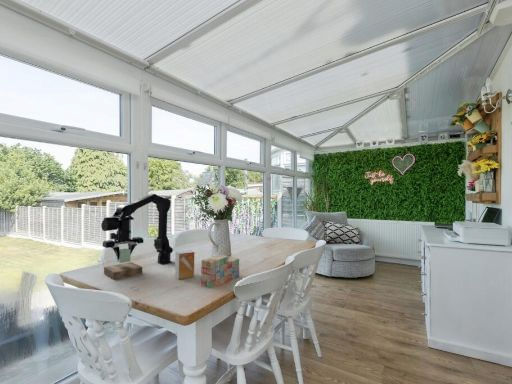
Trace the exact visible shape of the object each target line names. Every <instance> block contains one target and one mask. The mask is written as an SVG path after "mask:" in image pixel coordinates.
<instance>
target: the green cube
mask: <svg viewBox="0 0 512 384" xmlns="http://www.w3.org/2000/svg"><path fill="white" fill-rule="evenodd" d="M130 253H131V250H129V249H128V248H121V249H120V248H119V259H117V258H116V262H118V263H119V264H123V263H129V262H131V255H130ZM131 254H132V253H131Z"/></svg>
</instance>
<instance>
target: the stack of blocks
mask: <svg viewBox="0 0 512 384" xmlns="http://www.w3.org/2000/svg"><path fill="white" fill-rule="evenodd" d="M200 274H201V280H200V281H201V286H202V287H204V288H205V287H206V288H208V289H213V288H215V287H218V286H220V285H222V284H224V283H227V282H229V281H231V280H234V279H236V278H238V277H240V259H239V258H236V257H231V256H230V257H229V256H228V255H221V254H217V255H214V256H210V257H208V258H204V259H201V273H200Z"/></svg>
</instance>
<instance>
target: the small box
mask: <svg viewBox="0 0 512 384" xmlns="http://www.w3.org/2000/svg"><path fill="white" fill-rule="evenodd" d="M195 255H196V254H195V251H193V250H192V249H186V250H185V249H184V250H178V251H177V250H176V251H175V263H174V264H175V265H174V267H175V268H174V269H175V272H174V273H175V274H174V276H175V277H176V279H177V280H184V279H191V278H195Z"/></svg>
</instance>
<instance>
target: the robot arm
mask: <svg viewBox="0 0 512 384" xmlns="http://www.w3.org/2000/svg"><path fill="white" fill-rule="evenodd" d="M151 203H153V204H155V205H156V210H157V211H158V225H157V226H158V229H157V230H158V231H157V237H156V238H154V241H153V246H154V249H156V252H157V253H158V255H157V261H156V263H158V264H160V265H165V264H169V263H170V264H171V263H173V262H172V260H171V254H172V253H173V251H174V248H172V247H171V245H170V240H169V238H168V232H167V231H168V213H169V210H170V208H171V203H172V202H171V199H169V198H168V197H163V196H160V195H158V194H156V193H149V194H148V195H145V196H143V197H141V198H138V199H136V200H135V201H132V202H129V203H122V204H119V205H118V206H117V207H116V210H115V211H114V212H113V214H112V216H110V217H108V216H105V217H103V220H102V222H101V224H100V225H101V226H100V227H101V230H102V231H103V232H106V231H107V232H108V231H116V232H111V233H110V234H109V235H110V236H109V240H104V241H102V247H103V248H106V249H109V248H111V249H112V250H113V252H114V254H115V257H116V260H117V259H119V250H120V246H119V245H125V244H127V246H128V248H127V249H129V250H131V253H130V256H131V255H132V253H133V251H134V249H136V247H137V246H138V245H139V244H144V237H141V236H136V237H135V236H134V237H132V238H131V234H132V231H131V221H133V220H135V218H134V217H132V215H133V214H134V213H135V212H136V211H137V210H138V209H140V208H142V207H145V206H146V205H148V204H151Z"/></svg>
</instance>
